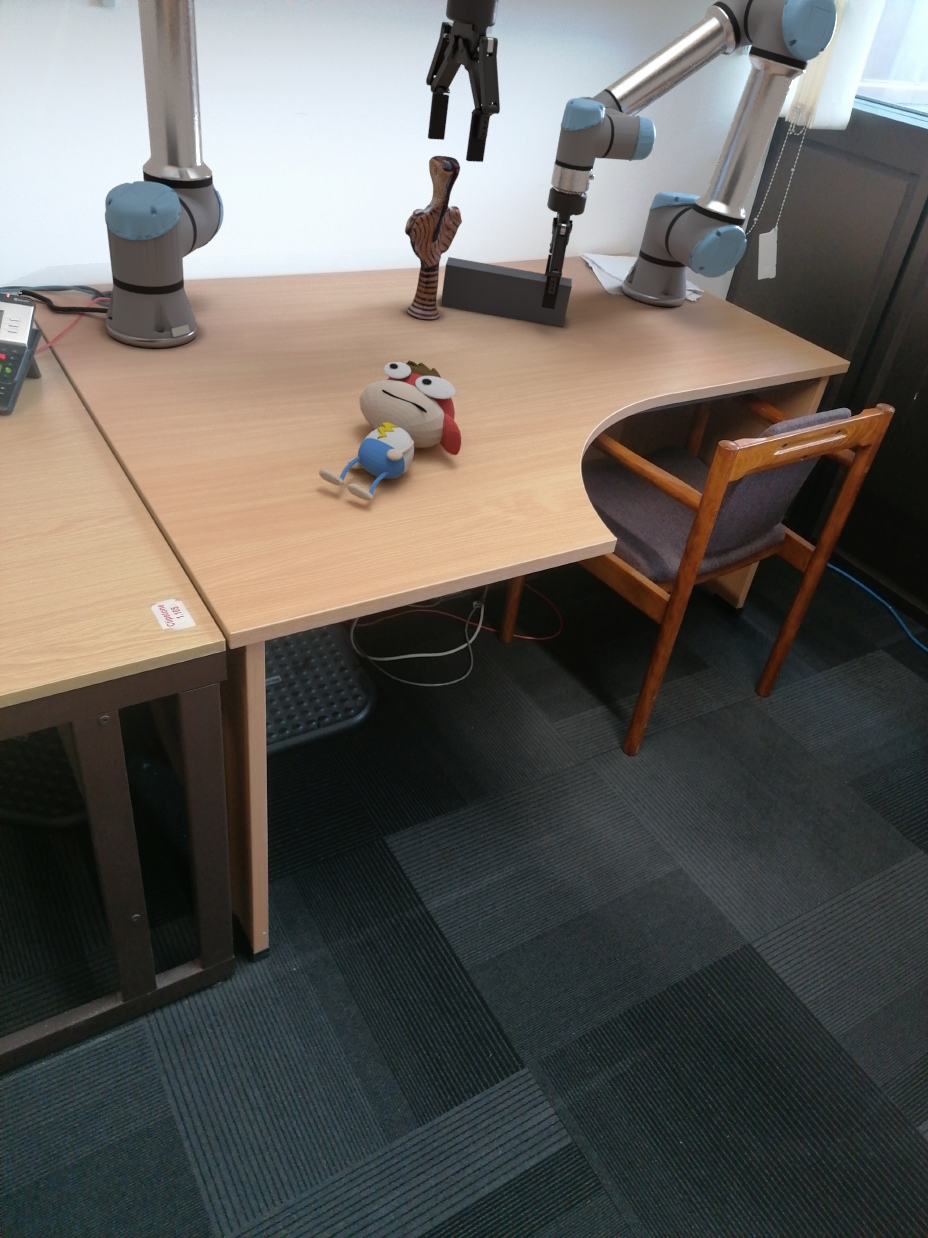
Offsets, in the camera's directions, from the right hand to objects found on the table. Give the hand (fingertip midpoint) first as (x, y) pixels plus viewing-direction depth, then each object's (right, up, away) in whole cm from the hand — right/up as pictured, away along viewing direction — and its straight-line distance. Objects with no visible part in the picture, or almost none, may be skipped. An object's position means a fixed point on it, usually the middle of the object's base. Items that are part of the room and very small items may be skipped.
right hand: (548, 296), depth 188 cm
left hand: (-19, +8, -45) cm, 49 cm away
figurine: (-26, -5, -5) cm, 27 cm away
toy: (-29, -44, -53) cm, 75 cm away
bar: (-10, -2, +3) cm, 10 cm away
